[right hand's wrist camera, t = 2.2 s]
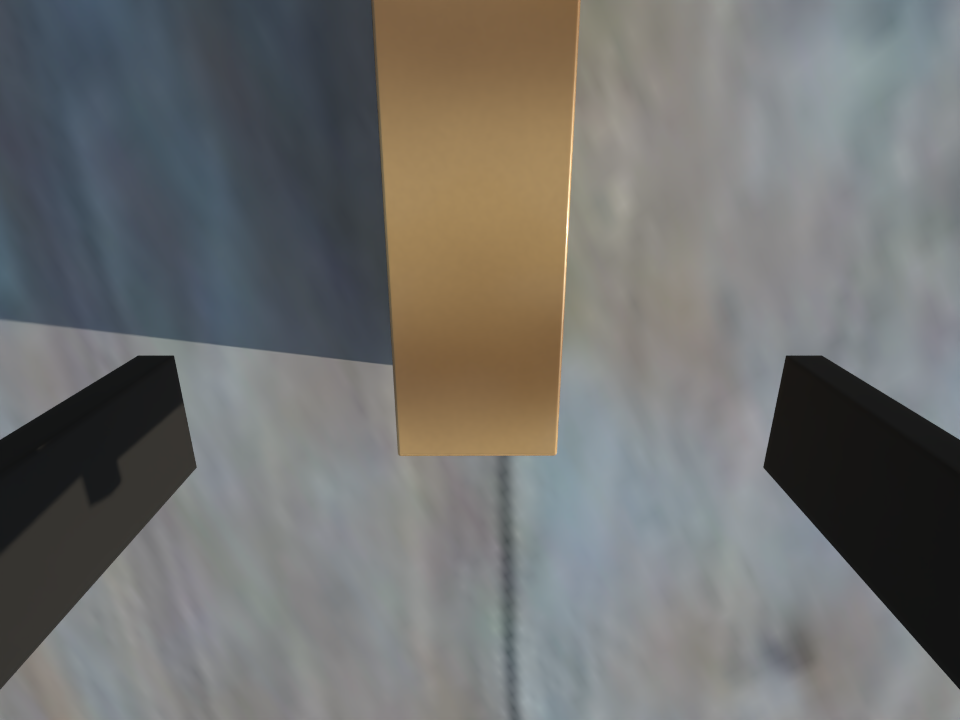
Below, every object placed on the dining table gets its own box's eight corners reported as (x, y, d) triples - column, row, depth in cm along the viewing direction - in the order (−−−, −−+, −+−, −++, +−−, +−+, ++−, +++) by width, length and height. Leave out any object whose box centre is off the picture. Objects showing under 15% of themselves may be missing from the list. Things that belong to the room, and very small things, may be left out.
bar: (534, 368, 26) (556, 456, 19) (420, 369, 26) (397, 457, 19) (562, -413, 17) (624, -841, 10) (389, -412, 17) (320, -842, 10)
